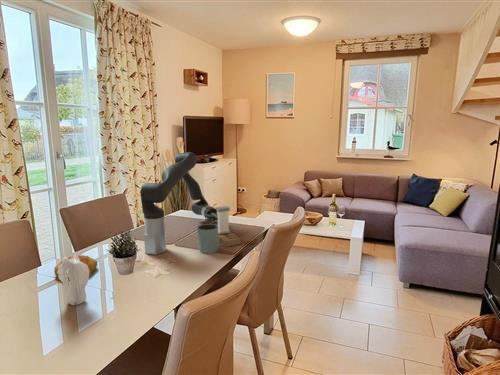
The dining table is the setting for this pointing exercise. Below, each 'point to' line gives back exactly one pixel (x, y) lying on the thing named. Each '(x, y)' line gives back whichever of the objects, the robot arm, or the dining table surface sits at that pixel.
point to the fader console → (228, 239)
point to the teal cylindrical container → (208, 238)
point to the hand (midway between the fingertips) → (221, 220)
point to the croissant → (85, 259)
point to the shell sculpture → (74, 279)
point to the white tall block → (223, 219)
